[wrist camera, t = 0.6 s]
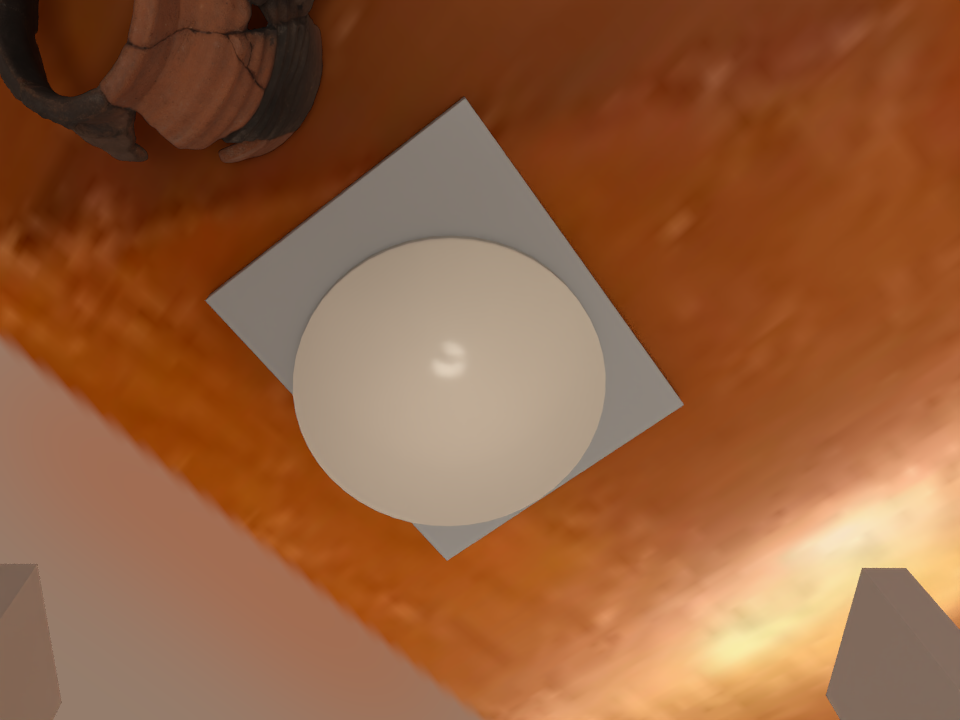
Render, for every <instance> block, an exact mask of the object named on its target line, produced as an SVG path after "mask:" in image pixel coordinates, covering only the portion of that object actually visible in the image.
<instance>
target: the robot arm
mask: <svg viewBox="0 0 960 720" xmlns="http://www.w3.org/2000/svg"><path fill="white" fill-rule="evenodd" d="M826 696H827V698H828V700H829V701H830V703H831V705H832V706H833V708H834V710H835V711H836V713H837V715H838V717H839V718H840V720H960V630H959V629H958V627H957V626H956V625H955V624H954V623H953V622H952V620H951V619H950V618H949V617H948V616H947V615H946V614H945V612H944V611H943V610H942V609H941V608H940V607H939V606H938V604H937V603H936V602H935V601H934V600H933V599H932V597H931V596H930V595H929V594H928V593H927V592H926V591H925V589H924V588H923V587H922V586H921V585H920V584H919V583H918V581H917V580H916V579H915V578H914V577H913V576H912V574H911V573H910V572H909V571H908V570H907V569H906V568H862V570H861V574H860V577H859V581H858V584H857V588H856V591H855V595H854V598H853V602H852V605H851V609H850V613H849V616H848V620H847V623H846V627H845V630H844V634H843V637H842V641H841V644H840V648H839V651H838V655H837V658H836V662H835V665H834V669H833V672H832V676H831V679H830V683H829V686H828V690H827V693H826ZM61 703H62V701H61V696H60V690H59V684H58V679H57V673H56V667H55V662H54V656H53V650H52V645H51V639H50V633H49V627H48V622H47V616H46V611H45V605H44V600H43V593H42V588H41V582H40V576H39V571H38V565H37V564H0V720H53V719H54V717H55V715H56V713H57V711H58V709H59V707H60V705H61Z"/></svg>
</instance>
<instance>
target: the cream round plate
mask: <svg viewBox="0 0 960 720" xmlns="http://www.w3.org/2000/svg"><path fill="white" fill-rule="evenodd" d="M605 384H606V373H605V365H604V357H603V353H602V349H601V346H600V342H599V338H598V336H597V333H596V331H595V329H594V327H593V324H592V322H591V320H590V318H589V316H588V314H587V313H586V311H585V309H584V308H583V306H582V305H581V303H580V301H579V300H578V298H577V297H576V296H575V294H574V293H573V292H572V291H571V290H570V288H569V287H568V286H567V285H566V284H565V282H564V281H562V280H561V279H560V278H559V277H558V276H557V275H556V274H555V273H554V272H552V271H551V270H550V269H549V268H548V267H546V266H545V265H543V264H542V263H540V262H539V261H537V260H536V259H534V258H533V257H531V256H529V255H527V254H525V253H523V252H521V251H519V250H517V249H515V248H513V247H510V246H507V245H504V244H501V243H498V242H495V241H491V240H486V239H481V238H476V237H467V236H453V235H451V236H434V237H426V238H421V239H415V240H410V241H407V242H404V243H401V244H398V245H394V246H391V247H388V248H386V249H384V250H382V251H380V252H378V253H376V254H374V255H372V256H370V257H368V258H367V259H365V260H364V261H362V262H361V263H359V264H357V265H356V266H354V267H353V268H352V269H350V270H349V271H348V272H347V273H346V274H345V275H343V276H342V277H341V278H340V279H339V280H338V281H337V282H336V283H335V284H334V285H333V286H332V287H331V288H330V290H329V291H328V292H327V293H326V294H325V295H324V296H323V298H322V299H321V301H320V302H319V304H318V305H317V307H316V309H315V310H314V312H313V313H312V315H311V317H310V319H309V322H308V324H307V326H306V328H305V330H304V333H303V335H302V338H301V341H300V344H299V348H298V351H297V354H296V359H295V365H294V372H293V398H294V405H295V412H296V416H297V420H298V423H299V426H300V430H301V432H302V435H303V437H304V439H305V441H306V443H307V446H308V448H309V450H310V451H311V453H312V454H313V456H314V457H315V459H316V461H317V462H318V464H319V465H320V466H321V467H322V469H323V470H324V471H325V472H326V473H327V475H328V476H329V477H330V478H331V479H332V480H333V481H334V482H335V483H336V484H337V485H339V486H340V487H341V488H342V489H343V490H344V491H345V492H347V493H348V494H349V495H351V496H352V497H354V498H355V499H356V500H358V501H359V502H361V503H363V504H365V505H367V506H368V507H370V508H372V509H374V510H376V511H378V512H381V513H383V514H386V515H388V516H391V517H393V518H396V519H400V520H404V521H408V522H411V523H417V524H424V525H430V526H461V525H471V524H477V523H482V522H487V521H491V520H494V519H497V518H501V517H504V516H507V515H509V514H511V513H514V512H516V511H518V510H521V509H523V508H525V507H527V506H528V505H530V504H532V503H533V502H535V501H537V500H539V499H540V498H542V497H543V496H544V495H546V494H547V493H548V492H550V491H551V490H552V489H554V488H555V487H556V486H557V485H558V484H559V483H560V482H561V481H562V480H563V479H564V478H565V477H566V476H567V475H568V474H569V473H570V472H571V471H572V470H573V468H574V467H575V466H576V465H577V463H578V462H579V461H580V460H581V458H582V456H583V455H584V453H585V452H586V450H587V448H588V447H589V445H590V443H591V441H592V439H593V436H594V434H595V432H596V430H597V427H598V424H599V421H600V417H601V414H602V411H603V404H604V398H605Z"/></svg>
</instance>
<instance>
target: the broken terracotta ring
mask: <svg viewBox="0 0 960 720" xmlns="http://www.w3.org/2000/svg"><path fill="white" fill-rule="evenodd" d="M313 2H314V0H134V6H133V16H132V20H131V25H130V29H129V33H128V41H127V43H126V44H125V46H124V47H123V49H122V51H121V54H120V56H119V58H118V60H117V61H116V63H115V64H114V66H113V67H112V69H111V70H110V71H109V73H108V74H107V75H106V76H105V77H104V79H103V80H102V81H101V82H100V84H99V86H98V87H97V88H95V89H92V90H89V91H88V92H86V93H84V94H81V95H78V96H75V97H66V96H61V95H58V94H57V93H55V92H54V91H53V90H52V88H51V87H50V85H49V83H48V81H47V77H46V73H45V70H44V67H43V63H42V59H41V55H40V52H39V48H38V45H37V43H36V39H35V34H36V33H37V31H38V18H39V15H38V5H39V0H0V74H1V77H2V79H3V80H4V83H5V84H6V85H7V87H8V88H9V89H10V90H11V92H12V93H13V95H14V96H15V98H16V99H18V100H20V101H22V103H23V104H24V105H25V106H26V107H28V108H29V109H31V110H32V111H34V112H36V113H38V114H39V115H40V116H41V117H42V118H45V119H50V120H52V121H53V122H55V123H58V124H61V125H63V126H64V127H66V128H68V129H71V130H73V131H74V132H75V133H76V134H78V135H79V136H80V137H82V138H83V139H84V140H85V141H86V142H88V143H89V144H91V145H93V146H96V147H99V148H101V149H103V150H104V151H106V152H108V153H109V154H110V155H111V156H113V157H114V158H116V159H118V160H122V161H136V162H141V161H145V160H147V159H148V155H147V152H146V151H145V150H144V149H143V148H142V147H141V146H140V145H138V144H137V143H135V142H136V136H135V131H134V121H135V115H136V112H138V113H139V114H141V115H142V116H143V118H144V119H145V120H146V122H147V123H148V124H149V125H150V126H152V127H154V128H155V129H156V130H157V131H158V132H159V133H160V134H161V135H162V136H163V137H164V138H165V139H167V140H168V141H170V143H171V144H173V145H174V146H175V147H177V148H179V149H184V148H187V149H193V150H194V149H205V148H206V147H208V146H210V145H211V144H213V143H214V142H216V141H217V140H218V139H223V141H224V142H226V143H230V142H232V143H235V144H233V145H231V146H229V147H226V148H224V149H222V150H220V151H219V157H220V159H221V161H223V162H225V163H233V162H238V161H242V160H245V159H247V158H250V157H258V156H261V155H263V154H266V153H268V152H270V151H272V150H274V149H275V148H277V147H278V146H280V145H281V144H282V143H284V142H285V141H286V140H287V139H288V138H289V137H290V136H291V135H292V134H293V132H294V131H296V130H297V129H298V128H299V127H300V125H301V124H302V122H303V121H304V119H305V117H306V116H307V114H308V112H309V111H310V109H311V107H312V105H313V102H314V99H315V96H316V93H317V90H318V88H319V85H320V79H321V75H322V66H323V64H322V41H321V34H320V29H319V28H318V27H317V26H316V25H315V24H314V23H313V21H312V19H311V18H310V17H309V15H308V12H309V11H310V10H311V8H312V5H313ZM252 4H254V5H257V6H258V7H259V8H260V10H261V11H262V13H263V15H264V16H265V18H266V20H267V22H268V25H267V26H266V27H262V28H259V29H253V30H248V29H247V27H248V22H249V21H250V18H251V15H252V10H251V6H252Z"/></svg>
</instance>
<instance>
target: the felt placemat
mask: <svg viewBox="0 0 960 720" xmlns="http://www.w3.org/2000/svg"><path fill="white" fill-rule="evenodd" d="M451 235H453V236H467V237H476V238H481V239H486V240H491V241H495V242H498V243H501V244H504V245H507V246H510V247H513V248H515V249H517V250H519V251H521V252H523V253H525V254H527V255H529V256H531V257H533V258H534V259H536V260H537V261H539V262H540V263H542V264H543V265H545V266H546V267H548V268H549V269H550V270H551V271H552V272H554V273H555V274H556V275H557V276H558V277H559V278H560V279H561V280H562V281H564V282H565V284H566V285H567V286H568V287H569V288H570V290H571V291H572V292H573V293H574V294H575V296H576V297H577V298H578V300H579V301H580V303H581V305H582V306H583V308H584V309H585V311H586V313H587V314H588V316H589V318H590V320H591V322H592V324H593V327H594V329H595V331H596V333H597V336H598V338H599V342H600V346H601V349H602V353H603V357H604V365H605V373H606V384H605V398H604V404H603V411H602V414H601V417H600V421H599V424H598V427H597V430H596V432H595V434H594V436H593V439H592V441H591V443H590V445H589V447H588V448H587V450H586V452H585V453H584V455H583V456H582V458H581V460H580V461H579V462H578V463H577V465H576V466H575V467H574V468H573V470H572V471H571V472H570V473H569V474H568V475H567V476H566V477H565V478H564V479H563V480H562V481H561V482H560V483H559V484H558V485H557V486H556V487H555V488H554V489H552V490H551V491H550V492H548V493H547V494H549V493H551V492H552V491H554V490H555V489H557V488H558V487H560V486H561V485H563V484H564V483H566V482H567V481H569V480H570V479H572V478H573V477H575V476H576V475H578V474H579V473H581V472H582V471H584V470H585V469H587V468H589V467H590V466H592V465H593V464H595V463H596V462H598V461H599V460H601V459H602V458H604V457H605V456H607V455H608V454H610V453H611V452H613V451H614V450H616V449H617V448H619V447H620V446H622V445H623V444H625V443H627V442H628V441H630V440H631V439H633V438H634V437H636V436H637V435H639V434H640V433H642V432H643V431H645V430H646V429H648V428H649V427H651V426H652V425H654V424H655V423H657V422H658V421H660V420H661V419H663V418H665V417H666V416H668V415H669V414H671V413H672V412H674V411H675V410H677V409H678V408H680V407H681V406H683V405H684V404H683V403H682V401H681V400H680V398H679V397H678V395H677V394H676V393H675V391H674V390H673V388H672V387H671V386H670V384H669V383H668V381H667V380H666V379H665V377H664V376H663V374H662V373H661V372H660V370H659V369H658V367H657V366H656V365H655V363H654V362H653V360H652V359H651V357H650V356H649V355H648V353H647V352H646V350H645V349H644V348H643V346H642V345H641V343H640V342H639V341H638V339H637V338H636V336H635V335H634V334H633V332H632V331H631V329H630V328H629V327H628V325H627V324H626V322H625V321H624V320H623V318H622V317H621V315H620V314H619V313H618V311H617V310H616V308H615V307H614V306H613V304H612V303H611V301H610V300H609V299H608V297H607V296H606V294H605V293H604V292H603V290H602V289H601V287H600V286H599V285H598V283H597V282H596V280H595V279H594V278H593V276H592V275H591V273H590V272H589V271H588V269H587V268H586V266H585V265H584V264H583V262H582V261H581V259H580V258H579V257H578V255H577V254H576V252H575V251H574V249H573V248H572V247H571V245H570V244H569V242H568V241H567V240H566V238H565V237H564V235H563V234H562V233H561V231H560V230H559V228H558V227H557V226H556V224H555V223H554V221H553V220H552V219H551V217H550V216H549V214H548V213H547V212H546V210H545V209H544V207H543V206H542V205H541V203H540V202H539V200H538V199H537V198H536V196H535V195H534V193H533V192H532V191H531V189H530V188H529V186H528V185H527V184H526V182H525V181H524V179H523V178H522V177H521V175H520V174H519V172H518V171H517V170H516V168H515V167H514V165H513V164H512V163H511V161H510V160H509V158H508V157H507V156H506V154H505V153H504V151H503V150H502V148H501V147H500V146H499V144H498V143H497V141H496V140H495V139H494V137H493V136H492V134H491V133H490V132H489V130H488V129H487V127H486V126H485V125H484V123H483V122H482V120H481V119H480V118H479V116H478V115H477V113H476V112H475V111H474V109H473V108H472V106H471V105H470V104H469V102H468V101H467V99H466V98H465V97H463V98H462V99H460V100H459V101H458V102H457V103H455V104H454V105H453V106H452V107H450V108H449V109H448V110H446V111H445V112H444V113H443V114H441V115H440V116H439V117H437V118H436V119H435V120H434V121H432V122H431V123H430V124H428V125H427V126H426V127H425V128H423V129H422V130H421V131H419V132H418V133H417V134H416V135H414V136H413V137H412V138H410V139H409V140H408V141H407V142H405V143H404V144H403V145H401V146H400V147H399V148H398V149H396V150H395V151H394V152H392V153H391V154H390V155H389V156H387V157H386V158H385V159H383V160H382V161H381V162H380V163H378V164H377V165H376V166H374V167H373V168H372V169H371V170H369V171H368V172H367V173H365V174H364V175H363V176H362V177H360V178H359V179H358V180H356V181H355V182H354V183H353V184H351V185H350V186H349V187H347V188H346V189H345V190H344V191H342V192H341V193H340V194H338V195H337V196H336V197H335V198H333V199H332V200H331V201H329V202H328V203H327V204H326V205H324V206H323V207H322V208H320V209H319V210H318V211H317V212H315V213H314V214H313V215H311V216H310V217H309V218H308V219H306V220H305V221H304V222H302V223H301V224H300V225H299V226H297V227H296V228H295V229H293V230H292V231H291V232H290V233H288V234H287V235H286V236H284V237H283V238H282V239H281V240H279V241H278V242H277V243H275V244H274V245H273V246H272V247H270V248H269V249H268V250H266V251H265V252H264V253H263V254H261V255H260V256H259V257H257V258H256V259H255V260H254V261H252V262H251V263H250V264H248V265H247V266H246V267H245V268H243V269H242V270H241V271H239V272H238V273H237V274H236V275H234V276H233V277H232V278H230V279H229V280H228V281H227V282H225V283H224V284H223V285H222V286H220V287H219V288H218V289H216V290H215V291H214V292H213V293H211V294H210V295H209V296H208V298H207V299H206V300H205V301H206V302H207V303H208V304H209V305H210V306H211V307H212V308H213V309H214V310H215V312H216V313H217V314H218V315H219V316H220V317H221V318H222V319H223V320H224V321H225V322H226V323H227V324H228V326H229V327H230V328H231V329H232V330H233V331H234V332H235V333H236V334H237V335H238V336H239V337H240V338H241V340H242V341H243V342H244V343H245V344H246V345H247V346H248V347H249V348H250V349H251V350H252V351H253V352H254V354H255V355H256V356H257V357H258V358H259V359H260V360H261V361H262V362H263V363H264V364H265V365H266V366H267V368H268V369H269V370H270V371H271V372H272V373H273V374H274V375H275V376H276V377H277V378H278V379H279V380H280V382H281V383H282V384H283V385H284V386H285V387H286V388H287V389H288V390H289V391H290V392H291V393H292V394H293V372H294V365H295V359H296V354H297V351H298V348H299V344H300V341H301V338H302V335H303V333H304V330H305V328H306V326H307V324H308V322H309V319H310V317H311V315H312V313H313V312H314V310H315V309H316V307H317V305H318V304H319V302H320V301H321V299H322V298H323V296H324V295H325V294H326V293H327V292H328V291H329V290H330V288H331V287H332V286H333V285H334V284H335V283H336V282H337V281H338V280H339V279H340V278H341V277H342V276H343V275H345V274H346V273H347V272H348V271H349V270H350V269H352V268H353V267H354V266H356V265H357V264H359V263H361V262H362V261H364V260H365V259H367V258H368V257H370V256H372V255H374V254H376V253H378V252H380V251H382V250H384V249H386V248H388V247H391V246H394V245H398V244H401V243H404V242H407V241H410V240H415V239H421V238H426V237H434V236H451ZM547 494H546V495H547ZM546 495H544V496H546ZM544 496H543V497H544ZM543 497H542V498H543ZM540 499H541V498H540ZM540 499H539V500H540ZM537 501H538V500H537ZM537 501H535V502H537ZM535 502H533V503H532V504H534V503H535ZM532 504H530V505H528V506H527V507H525V508H523V509H521V510H518V511H516V512H514V513H511V514H509V515H507V516H504V517H501V518H497V519H494V520H491V521H487V522H482V523H477V524H471V525H461V526H430V525H424V524H417V523H412V524H413V525H414V526H415V527H416V528H417V529H418V530H419V531H420V532H421V533H422V534H423V535H424V537H425V538H426V539H427V540H428V541H429V542H430V543H431V544H432V545H433V546H434V547H435V548H436V549H437V550H438V552H439V553H440V554H441V555H442V556H443V557H444V558H445V559H446V560H449V559H450V558H452V557H453V556H455V555H456V554H458V553H459V552H461V551H462V550H464V549H465V548H467V547H468V546H470V545H471V544H473V543H475V542H476V541H478V540H479V539H481V538H482V537H484V536H485V535H487V534H488V533H490V532H491V531H493V530H494V529H496V528H497V527H499V526H500V525H502V524H503V523H505V522H506V521H508V520H509V519H511V518H513V517H514V516H516V515H517V514H519V513H520V512H522V511H523V510H525V509H526V508H528V507H529V506H531V505H532Z"/></svg>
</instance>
